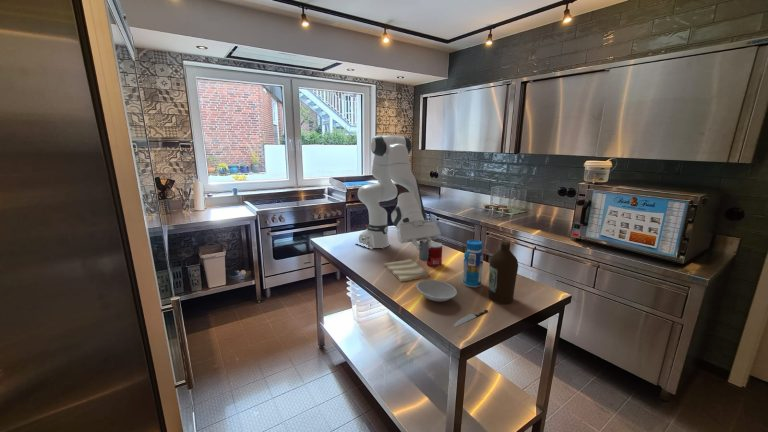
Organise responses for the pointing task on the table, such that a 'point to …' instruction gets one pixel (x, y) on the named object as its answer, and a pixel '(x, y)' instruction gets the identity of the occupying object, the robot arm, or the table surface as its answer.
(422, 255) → the dark grey cylinder
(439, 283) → the dish
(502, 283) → the olive oil
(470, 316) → the chef's knife
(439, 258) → the canned food
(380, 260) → the table surface
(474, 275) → the beverage bottle
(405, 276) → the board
